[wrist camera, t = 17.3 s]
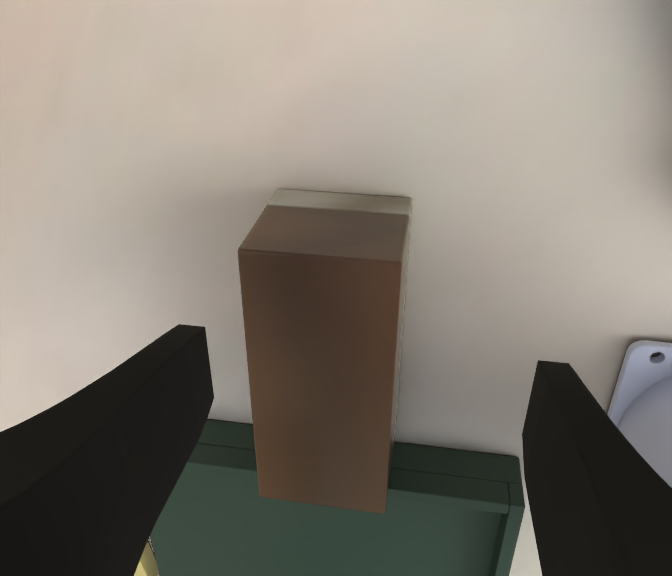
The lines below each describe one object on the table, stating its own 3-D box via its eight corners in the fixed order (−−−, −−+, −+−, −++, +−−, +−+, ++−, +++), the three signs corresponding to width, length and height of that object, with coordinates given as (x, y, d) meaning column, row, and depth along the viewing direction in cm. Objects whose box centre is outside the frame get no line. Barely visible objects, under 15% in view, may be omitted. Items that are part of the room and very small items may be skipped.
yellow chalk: (127, 536, 33) (108, 535, 34) (152, 587, 36) (134, 586, 36) (137, 517, 34) (118, 517, 35) (161, 569, 37) (142, 568, 37)
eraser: (412, 197, 22) (402, 262, 18) (395, 424, 28) (385, 515, 24) (277, 188, 23) (236, 249, 19) (287, 411, 28) (258, 497, 24)
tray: (519, 456, 28) (525, 507, 25) (476, 653, 36) (477, 706, 33) (140, 410, 30) (113, 452, 28) (181, 604, 38) (163, 649, 36)
